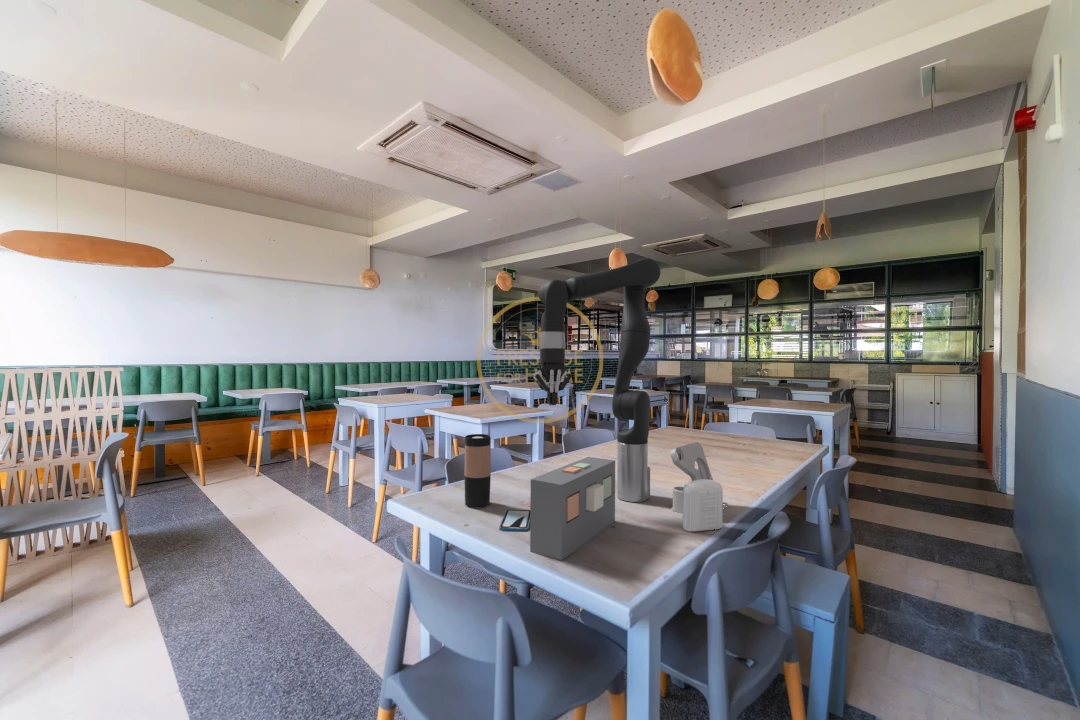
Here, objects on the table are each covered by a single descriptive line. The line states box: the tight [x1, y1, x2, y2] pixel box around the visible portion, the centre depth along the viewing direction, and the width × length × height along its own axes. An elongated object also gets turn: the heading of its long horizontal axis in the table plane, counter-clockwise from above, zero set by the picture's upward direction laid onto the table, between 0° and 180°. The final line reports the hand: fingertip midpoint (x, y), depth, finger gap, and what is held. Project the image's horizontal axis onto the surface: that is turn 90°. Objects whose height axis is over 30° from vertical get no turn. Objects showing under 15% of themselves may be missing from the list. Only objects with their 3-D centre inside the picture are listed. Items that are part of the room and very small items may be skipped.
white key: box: [586, 483, 604, 511], centre depth 107 cm, size 4×5×5 cm
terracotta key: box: [567, 492, 579, 522], centre depth 100 cm, size 4×5×5 cm
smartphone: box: [498, 508, 530, 532], centre depth 119 cm, size 7×1×15 cm
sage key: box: [602, 476, 611, 499], centre depth 115 cm, size 4×5×5 cm
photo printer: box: [682, 479, 724, 533], centre depth 114 cm, size 10×4×12 cm, turn 106°
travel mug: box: [463, 433, 492, 508], centre depth 131 cm, size 8×8×20 cm
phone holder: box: [670, 441, 729, 515], centre depth 129 cm, size 17×10×18 cm, turn 135°
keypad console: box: [529, 456, 616, 561], centre depth 109 cm, size 8×28×16 cm, turn 147°
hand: (552, 404), depth 135 cm, fingers closed
